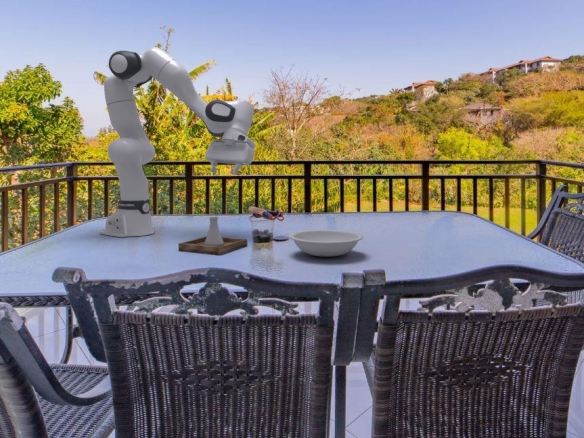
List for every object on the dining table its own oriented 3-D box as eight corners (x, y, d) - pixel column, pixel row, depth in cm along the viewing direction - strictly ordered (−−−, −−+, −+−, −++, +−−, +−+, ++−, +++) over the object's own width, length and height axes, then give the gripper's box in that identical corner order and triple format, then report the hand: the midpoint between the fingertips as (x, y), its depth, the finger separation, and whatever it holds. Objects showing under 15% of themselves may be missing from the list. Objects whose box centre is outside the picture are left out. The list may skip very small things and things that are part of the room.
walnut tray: (178, 250, 165) (178, 243, 165) (208, 242, 180) (207, 235, 180) (220, 255, 158) (220, 247, 158) (247, 246, 173) (247, 239, 173)
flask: (221, 247, 165) (220, 218, 164) (200, 247, 166) (200, 218, 165) (227, 243, 172) (226, 216, 171) (207, 243, 173) (206, 215, 172)
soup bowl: (342, 267, 141) (343, 245, 141) (274, 258, 154) (274, 237, 153) (374, 252, 162) (374, 233, 161) (311, 245, 174) (311, 227, 173)
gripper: (208, 135, 188) (196, 167, 184) (251, 137, 178) (240, 171, 174) (217, 142, 193) (206, 174, 190) (259, 145, 183) (249, 178, 180)
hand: (223, 173), depth 182 cm, fingers open, 8 cm apart
